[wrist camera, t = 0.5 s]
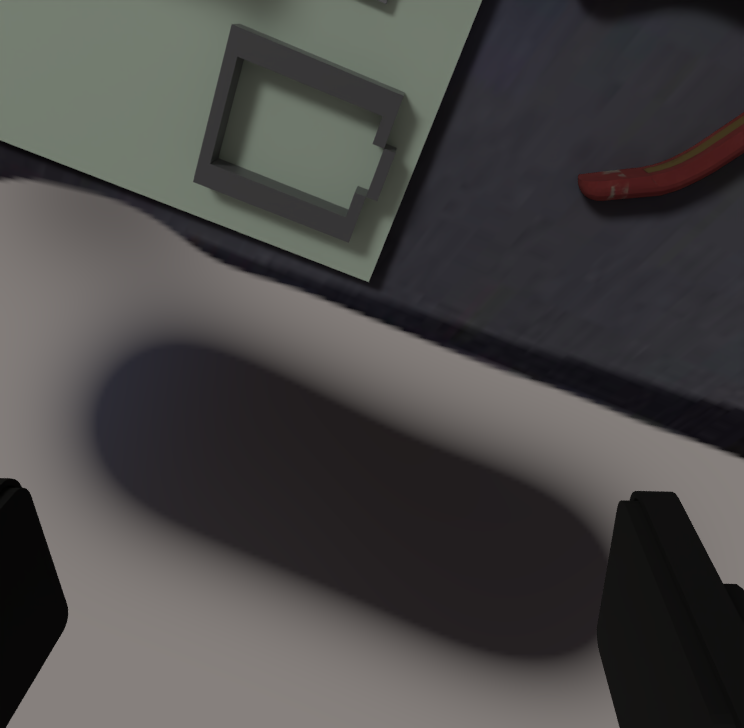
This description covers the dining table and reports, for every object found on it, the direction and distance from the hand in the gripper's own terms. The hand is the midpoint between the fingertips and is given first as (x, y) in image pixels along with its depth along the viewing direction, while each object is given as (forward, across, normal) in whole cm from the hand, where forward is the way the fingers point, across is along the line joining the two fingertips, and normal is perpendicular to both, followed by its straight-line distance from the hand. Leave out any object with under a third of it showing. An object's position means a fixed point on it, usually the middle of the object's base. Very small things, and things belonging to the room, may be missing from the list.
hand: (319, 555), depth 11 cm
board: (+28, +8, -8) cm, 30 cm away
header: (+27, +5, -2) cm, 28 cm away
